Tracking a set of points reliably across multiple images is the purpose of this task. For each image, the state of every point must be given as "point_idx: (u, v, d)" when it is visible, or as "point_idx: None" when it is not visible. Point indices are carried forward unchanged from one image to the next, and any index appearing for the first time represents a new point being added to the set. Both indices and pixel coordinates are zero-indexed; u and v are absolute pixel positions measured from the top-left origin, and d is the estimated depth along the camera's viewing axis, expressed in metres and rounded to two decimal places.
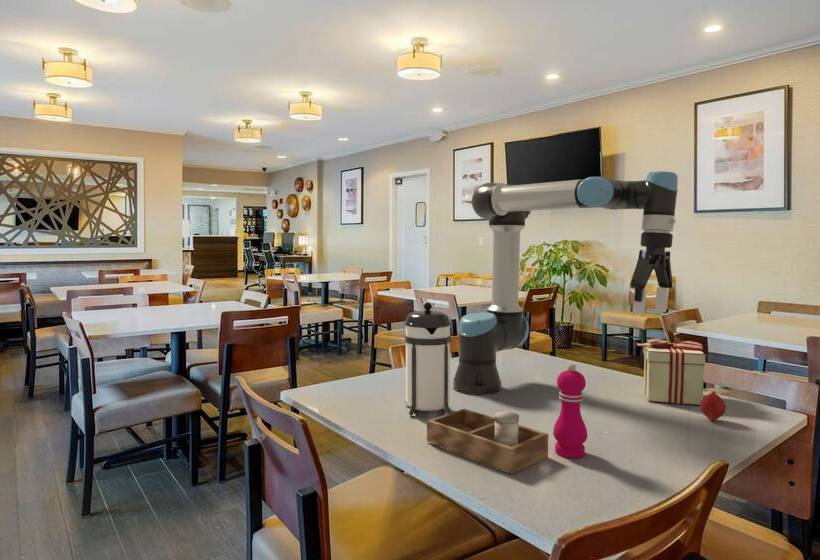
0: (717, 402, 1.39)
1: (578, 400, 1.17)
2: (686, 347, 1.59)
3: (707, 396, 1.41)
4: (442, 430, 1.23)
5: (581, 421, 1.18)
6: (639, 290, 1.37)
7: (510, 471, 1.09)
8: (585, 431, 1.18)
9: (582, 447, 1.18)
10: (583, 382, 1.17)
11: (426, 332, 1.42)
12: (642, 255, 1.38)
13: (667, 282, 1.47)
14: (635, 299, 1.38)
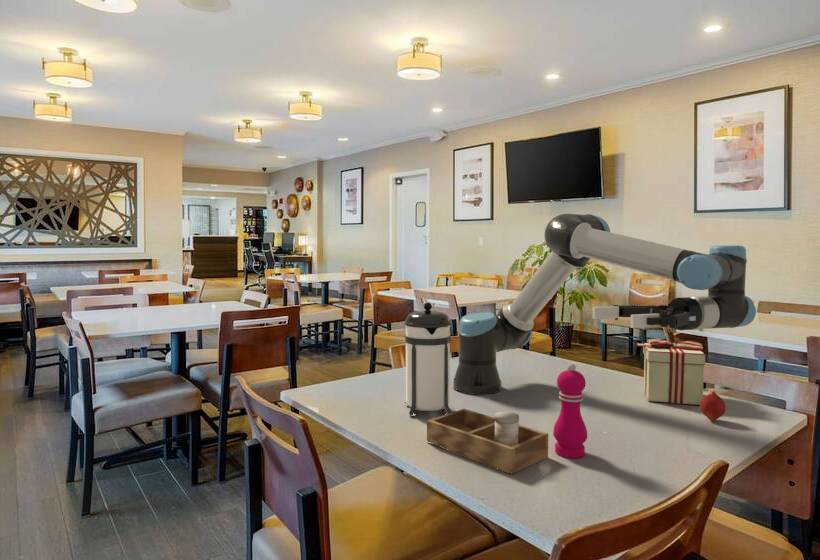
0: (717, 402, 1.39)
1: (578, 400, 1.17)
2: (686, 347, 1.59)
3: (707, 396, 1.41)
4: (442, 430, 1.23)
5: (581, 421, 1.18)
6: (662, 323, 1.14)
7: (510, 471, 1.09)
8: (585, 431, 1.18)
9: (582, 447, 1.18)
10: (583, 382, 1.17)
11: (426, 332, 1.42)
12: (691, 317, 1.18)
13: (623, 316, 1.29)
14: (652, 319, 1.14)
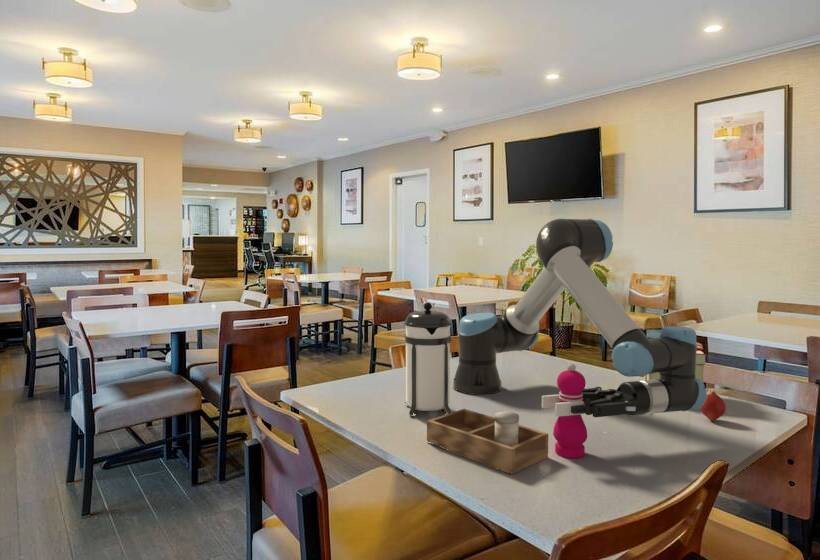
0: (717, 402, 1.39)
1: (578, 400, 1.17)
2: None
3: (707, 396, 1.41)
4: (442, 430, 1.23)
5: (581, 421, 1.18)
6: (585, 411, 1.15)
7: (510, 471, 1.09)
8: (585, 431, 1.18)
9: (582, 447, 1.18)
10: (583, 382, 1.17)
11: (426, 332, 1.42)
12: (629, 407, 1.16)
13: None
14: (575, 408, 1.15)
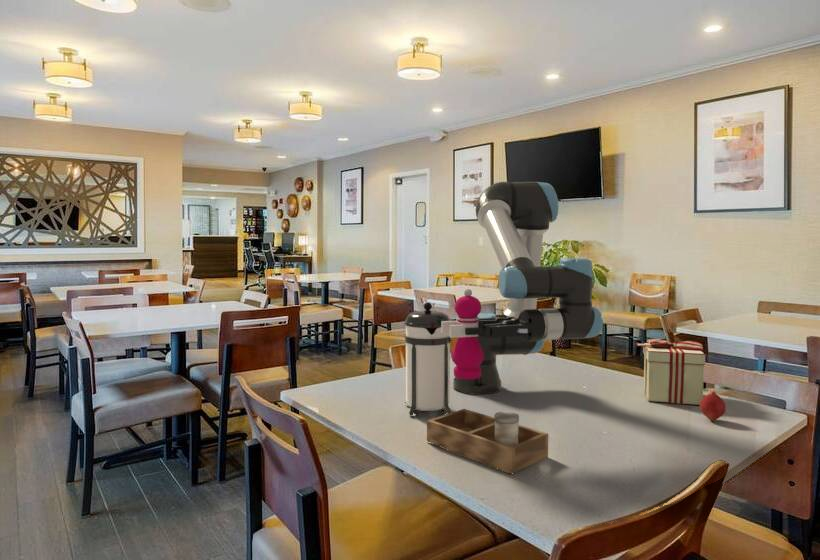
0: (717, 402, 1.39)
1: (473, 323, 1.22)
2: (686, 347, 1.59)
3: (707, 396, 1.41)
4: (442, 430, 1.23)
5: (476, 344, 1.23)
6: (479, 333, 1.20)
7: (510, 471, 1.09)
8: (480, 353, 1.23)
9: (478, 369, 1.23)
10: (478, 306, 1.22)
11: (426, 332, 1.42)
12: (521, 329, 1.21)
13: None
14: (468, 330, 1.20)
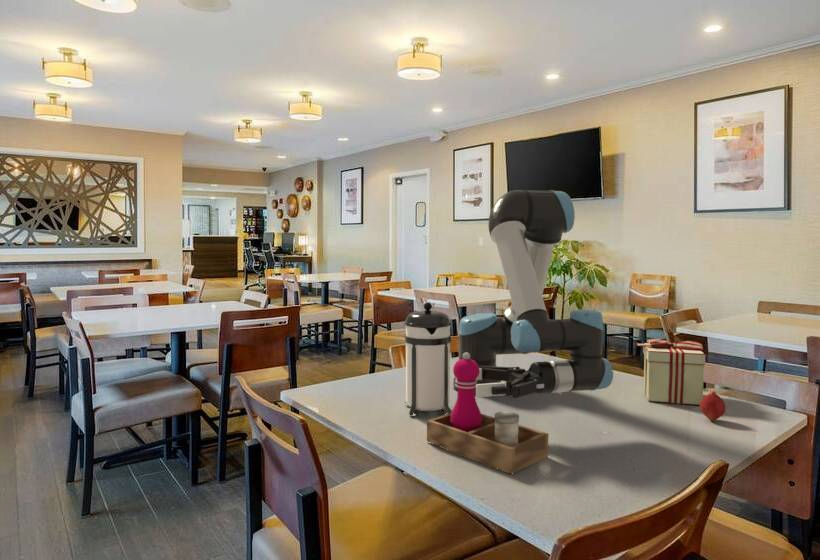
0: (717, 402, 1.39)
1: (471, 387, 1.23)
2: (686, 347, 1.59)
3: (707, 396, 1.41)
4: (442, 430, 1.23)
5: (475, 407, 1.24)
6: (505, 392, 1.19)
7: (510, 471, 1.09)
8: (478, 416, 1.24)
9: None
10: (476, 370, 1.23)
11: (426, 332, 1.42)
12: (539, 385, 1.22)
13: None
14: (495, 389, 1.18)
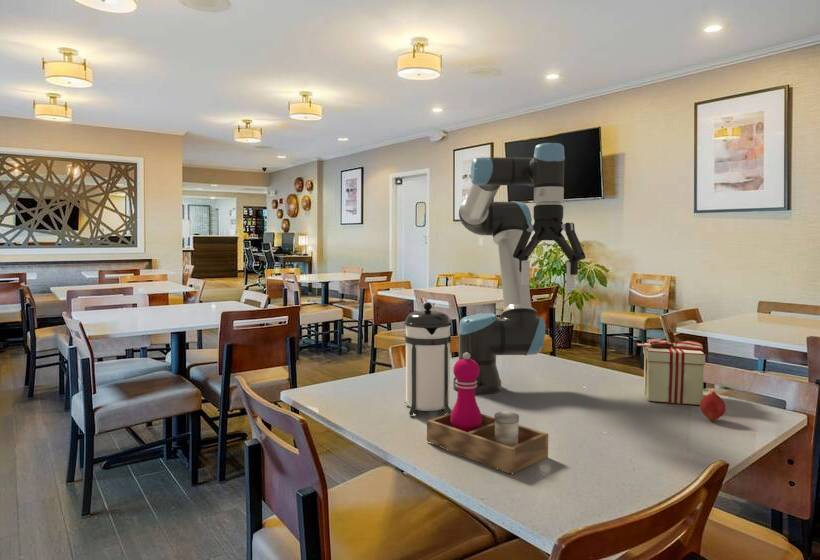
0: (717, 402, 1.39)
1: (471, 387, 1.23)
2: (686, 347, 1.59)
3: (707, 396, 1.41)
4: (442, 430, 1.23)
5: (475, 407, 1.24)
6: None
7: (510, 471, 1.09)
8: (478, 416, 1.24)
9: None
10: (476, 370, 1.23)
11: (426, 332, 1.42)
12: None
13: (568, 256, 1.37)
14: None
